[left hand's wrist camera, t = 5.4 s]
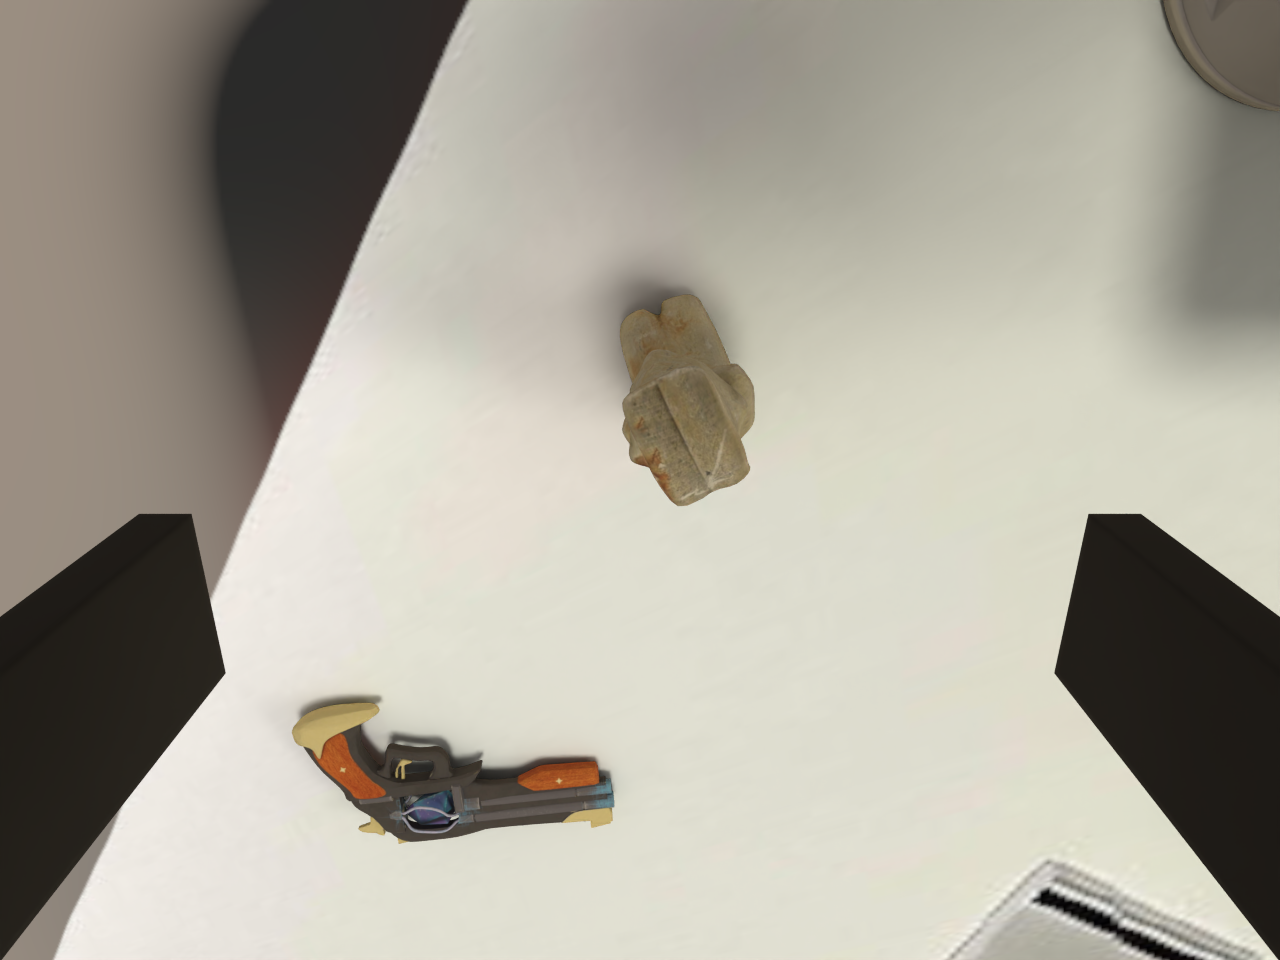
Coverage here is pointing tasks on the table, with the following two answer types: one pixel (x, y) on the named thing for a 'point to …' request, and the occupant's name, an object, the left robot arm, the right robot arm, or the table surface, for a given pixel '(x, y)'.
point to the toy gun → (444, 784)
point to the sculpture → (684, 401)
